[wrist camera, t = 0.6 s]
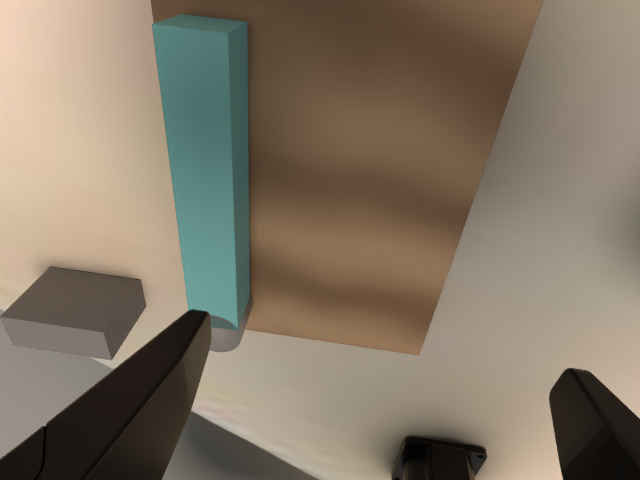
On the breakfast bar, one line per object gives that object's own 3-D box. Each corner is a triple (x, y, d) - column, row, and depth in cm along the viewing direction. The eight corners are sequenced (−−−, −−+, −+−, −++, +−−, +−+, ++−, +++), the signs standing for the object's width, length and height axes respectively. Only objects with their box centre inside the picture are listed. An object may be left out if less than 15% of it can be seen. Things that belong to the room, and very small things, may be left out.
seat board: (416, 330, 27) (419, 355, 25) (202, 299, 27) (191, 321, 26) (539, -46, 15) (558, -45, 14) (164, -88, 16) (139, -92, 14)
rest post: (145, 306, 28) (111, 360, 25) (60, 293, 29) (13, 345, 25) (140, 279, 27) (103, 332, 23) (50, 266, 27) (-1, 316, 24)
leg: (252, 321, 25) (241, 355, 23) (205, 314, 25) (190, 347, 23) (251, 22, 16) (232, 34, 14) (177, 13, 16) (147, 23, 14)
